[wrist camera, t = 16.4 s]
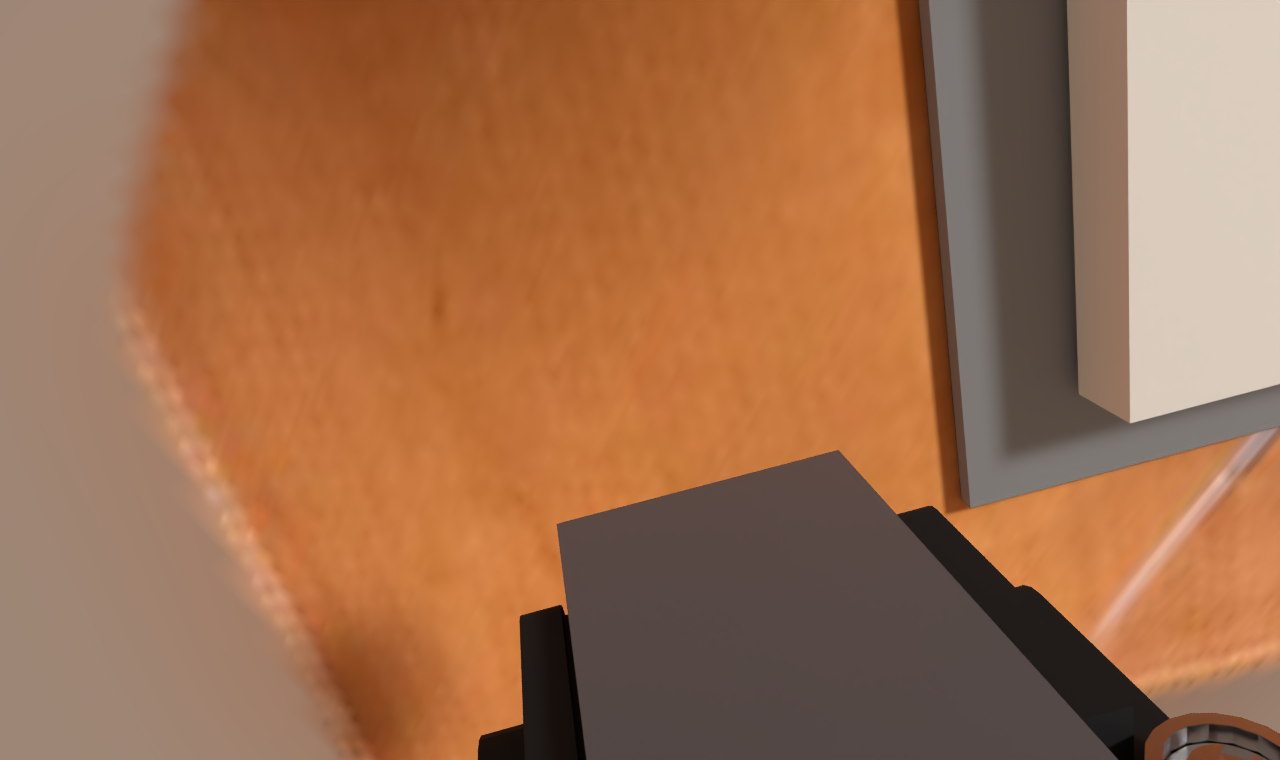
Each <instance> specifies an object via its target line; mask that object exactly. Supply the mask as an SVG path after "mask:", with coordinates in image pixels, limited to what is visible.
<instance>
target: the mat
mask: <svg viewBox="0 0 1280 760" xmlns="http://www.w3.org/2000/svg"><path fill="white" fill-rule="evenodd" d="M919 11H920V23H921V34H922V46H923V58H924V69H925V81H926V92H927V104H928V115H929V127H930V139H931V150H932V162H933V173H934V185H935V197H936V208H937V220H938V231H939V243H940V254H941V266H942V278H943V289H944V301H945V312H946V324H947V335H948V347H949V359H950V370H951V382H952V393H953V405H954V417H955V428H956V440H957V451H958V463H959V474H960V486H961V498H962V501H963V502H965V503H966V504H967V505H968V506H969V507H970V508H974V507H977V506H981V505H985V504H989V503H992V502H996V501H1000V500H1004V499H1007V498H1011V497H1015V496H1019V495H1022V494H1026V493H1030V492H1034V491H1037V490H1041V489H1045V488H1049V487H1052V486H1056V485H1060V484H1064V483H1067V482H1071V481H1075V480H1079V479H1082V478H1086V477H1090V476H1094V475H1097V474H1101V473H1105V472H1109V471H1112V470H1116V469H1120V468H1124V467H1127V466H1131V465H1135V464H1139V463H1142V462H1146V461H1150V460H1154V459H1157V458H1161V457H1165V456H1169V455H1172V454H1176V453H1180V452H1184V451H1187V450H1191V449H1195V448H1199V447H1202V446H1206V445H1210V444H1214V443H1217V442H1221V441H1225V440H1229V439H1232V438H1236V437H1240V436H1244V435H1247V434H1251V433H1255V432H1259V431H1262V430H1266V429H1270V428H1274V427H1277V426H1280V384H1278V385H1274V386H1270V387H1267V388H1263V389H1259V390H1255V391H1251V392H1248V393H1244V394H1240V395H1236V396H1232V397H1229V398H1225V399H1221V400H1217V401H1213V402H1210V403H1206V404H1202V405H1198V406H1194V407H1191V408H1187V409H1183V410H1179V411H1175V412H1172V413H1168V414H1164V415H1160V416H1156V417H1153V418H1149V419H1145V420H1141V421H1137V422H1134V423H1128V422H1127V421H1125V420H1123V419H1121V418H1120V417H1118V416H1116V415H1114V414H1113V413H1111V412H1109V411H1107V410H1106V409H1104V408H1102V407H1100V406H1099V405H1097V404H1095V403H1093V402H1092V401H1090V400H1088V399H1086V398H1085V397H1083V396H1081V395H1079V388H1078V355H1077V321H1076V288H1075V255H1074V222H1073V189H1072V155H1071V122H1070V89H1069V56H1068V22H1067V0H919Z"/></svg>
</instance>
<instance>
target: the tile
mask: <svg viewBox="0 0 1280 760" xmlns="http://www.w3.org/2000/svg"><path fill="white" fill-rule="evenodd" d="M1067 22H1068V56H1069V89H1070V122H1071V155H1072V189H1073V222H1074V255H1075V288H1076V321H1077V355H1078V388H1079V395H1081V396H1083V397H1085V398H1086V399H1088V400H1090V401H1092V402H1093V403H1095V404H1097V405H1099V406H1100V407H1102V408H1104V409H1106V410H1107V411H1109V412H1111V413H1113V414H1114V415H1116V416H1118V417H1120V418H1121V419H1123V420H1125V421H1127V422H1128V423H1134V422H1137V421H1141V420H1145V419H1149V418H1153V417H1156V416H1160V415H1164V414H1168V413H1172V412H1175V411H1179V410H1183V409H1187V408H1191V407H1194V406H1198V405H1202V404H1206V403H1210V402H1213V401H1217V400H1221V399H1225V398H1229V397H1232V396H1236V395H1240V394H1244V393H1248V392H1251V391H1255V390H1259V389H1263V388H1267V387H1270V386H1274V385H1278V384H1280V0H1067Z"/></svg>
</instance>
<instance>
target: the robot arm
mask: <svg viewBox="0 0 1280 760" xmlns="http://www.w3.org/2000/svg"><path fill="white" fill-rule="evenodd" d="M897 516H898V517H899V518H900V519H901V520H902V521H903V522H904V523H905V524H906V525H907V527H908V528H909V529H910V530H911V531H912V532H913V533H914V534H915V535H916V537H917V538H918V539H919V540H920V541H921V542H922V543H923V544H924V545H925V546H926V548H927V549H928V550H929V551H930V552H931V553H932V554H933V555H934V556H935V558H936V559H937V560H938V561H939V562H940V563H941V564H942V565H943V566H944V568H945V569H946V570H947V571H948V572H949V573H950V574H951V575H952V576H953V577H954V579H955V580H956V581H957V582H958V583H959V584H960V585H961V586H962V587H963V589H964V590H965V591H966V592H967V593H968V594H969V595H970V596H971V597H972V599H973V600H974V601H975V602H976V603H977V604H978V605H979V606H980V607H981V608H982V610H983V611H984V612H985V613H986V614H987V615H988V616H989V617H990V618H991V620H992V621H993V622H994V623H995V624H996V625H997V626H998V627H999V628H1000V629H1001V631H1002V632H1003V633H1004V634H1005V635H1006V636H1007V637H1008V638H1009V639H1010V641H1011V642H1012V643H1013V644H1014V645H1015V646H1016V647H1017V648H1018V649H1019V651H1020V652H1021V653H1022V654H1023V655H1024V656H1025V657H1026V658H1027V659H1028V660H1029V662H1030V663H1031V664H1032V665H1033V666H1034V667H1035V668H1036V669H1037V670H1038V672H1039V673H1040V674H1041V675H1042V676H1043V677H1044V678H1045V679H1046V680H1047V681H1048V683H1049V684H1050V685H1051V686H1052V687H1053V688H1054V689H1055V690H1056V691H1057V693H1058V694H1059V695H1060V696H1061V697H1062V698H1063V699H1064V700H1065V701H1066V703H1067V704H1068V705H1069V706H1070V707H1071V708H1072V709H1073V710H1074V711H1075V712H1076V714H1077V715H1078V716H1079V717H1080V718H1081V719H1082V720H1083V721H1084V722H1085V724H1086V725H1087V726H1088V727H1089V728H1090V729H1091V730H1092V731H1093V732H1094V734H1095V735H1096V736H1097V737H1098V738H1099V739H1100V740H1101V741H1102V742H1103V743H1104V745H1105V746H1106V747H1107V748H1108V749H1109V750H1110V751H1111V752H1112V753H1113V755H1114V756H1115V757H1116V758H1117V759H1118V760H1280V734H1279V733H1277V732H1275V731H1274V730H1272V729H1270V728H1269V727H1267V726H1264V725H1261V724H1258V723H1255V722H1252V721H1250V720H1247V719H1244V718H1241V717H1235V716H1229V715H1224V714H1218V713H1191V714H1186V715H1182V716H1178V717H1174V718H1171V719H1170V718H1169V717H1167V715H1165V714H1164V713H1163V712H1162V711H1161V710H1160V709H1159V708H1158V707H1157V706H1156V705H1155V704H1154V703H1153V702H1152V701H1151V700H1150V699H1149V698H1148V697H1147V696H1146V695H1145V694H1144V693H1143V692H1142V691H1141V690H1140V689H1138V688H1137V687H1136V686H1135V685H1134V684H1133V683H1132V682H1131V681H1130V680H1129V679H1128V678H1127V677H1126V676H1125V675H1124V674H1123V673H1122V672H1121V671H1120V670H1119V669H1118V668H1117V667H1116V666H1115V665H1114V664H1113V663H1111V662H1110V661H1109V660H1108V659H1107V658H1106V657H1105V656H1104V655H1103V654H1102V653H1101V652H1100V651H1099V650H1098V649H1097V648H1096V647H1095V646H1094V645H1093V644H1092V643H1091V642H1090V641H1089V640H1088V639H1087V638H1086V637H1084V636H1083V635H1082V634H1081V633H1080V632H1079V631H1078V630H1077V629H1076V628H1075V627H1074V626H1073V625H1072V624H1071V623H1070V622H1069V621H1068V620H1067V619H1066V618H1065V617H1064V616H1063V615H1062V614H1061V613H1060V612H1059V611H1057V610H1056V609H1055V608H1054V607H1053V606H1052V605H1051V604H1050V603H1049V602H1048V601H1047V600H1046V599H1045V598H1044V597H1043V596H1042V595H1041V594H1040V593H1038V592H1037V591H1036V590H1034V589H1033V588H1032V587H1029V586H1025V585H1022V586H1019V587H1014V586H1013V585H1012V584H1011V583H1010V582H1009V581H1008V580H1007V579H1006V578H1005V577H1004V576H1003V575H1002V574H1001V573H1000V572H999V571H998V570H997V569H996V568H995V567H994V566H993V565H992V564H991V563H990V562H989V561H988V560H987V559H986V558H985V557H984V556H983V555H982V554H981V553H980V552H979V551H978V550H977V549H976V548H975V547H974V546H973V545H972V544H971V543H970V542H969V541H968V540H967V539H966V538H965V537H964V536H963V535H962V534H961V533H960V532H959V531H958V530H957V529H956V528H955V527H954V526H953V525H952V524H951V523H950V522H949V521H948V520H947V519H946V518H945V517H944V516H943V515H942V514H941V513H940V512H939V511H938V510H937V509H935V508H934V507H933V506H927V507H923V508H919V509H915V510H912V511H908V512H904V513H900V514H897ZM520 643H521V670H522V697H523V724H521V725H518V726H514V727H511V728H507V729H503V730H500V731H496V732H493V733H489V734H485V735H482V736H481V738H480V740H479V747H478V760H586V752H585V744H584V736H583V728H582V720H581V712H580V704H579V696H578V688H577V681H576V673H575V665H574V657H573V649H572V641H571V633H570V625H569V617H568V615H565V613H564V610H563V607H562V606H561V605H558V606H555V607H551V608H547V609H543V610H540V611H536V612H532V613H529V614H525V615H521V616H520Z"/></svg>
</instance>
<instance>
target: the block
mask: <svg viewBox="0 0 1280 760" xmlns="http://www.w3.org/2000/svg"><path fill="white" fill-rule="evenodd" d="M557 530H558V538H559V546H560V554H561V562H562V570H563V577H564V585H565V593H566V601H567V609H568V617H569V625H570V633H571V641H572V649H573V657H574V665H575V673H576V681H577V688H578V696H579V704H580V712H581V720H582V728H583V736H584V744H585V752H586V760H1118V759H1117V758H1116V757H1115V756H1114V755H1113V753H1112V752H1111V751H1110V750H1109V749H1108V748H1107V747H1106V746H1105V745H1104V743H1103V742H1102V741H1101V740H1100V739H1099V738H1098V737H1097V736H1096V735H1095V734H1094V732H1093V731H1092V730H1091V729H1090V728H1089V727H1088V726H1087V725H1086V724H1085V722H1084V721H1083V720H1082V719H1081V718H1080V717H1079V716H1078V715H1077V714H1076V712H1075V711H1074V710H1073V709H1072V708H1071V707H1070V706H1069V705H1068V704H1067V703H1066V701H1065V700H1064V699H1063V698H1062V697H1061V696H1060V695H1059V694H1058V693H1057V691H1056V690H1055V689H1054V688H1053V687H1052V686H1051V685H1050V684H1049V683H1048V681H1047V680H1046V679H1045V678H1044V677H1043V676H1042V675H1041V674H1040V673H1039V672H1038V670H1037V669H1036V668H1035V667H1034V666H1033V665H1032V664H1031V663H1030V662H1029V660H1028V659H1027V658H1026V657H1025V656H1024V655H1023V654H1022V653H1021V652H1020V651H1019V649H1018V648H1017V647H1016V646H1015V645H1014V644H1013V643H1012V642H1011V641H1010V639H1009V638H1008V637H1007V636H1006V635H1005V634H1004V633H1003V632H1002V631H1001V629H1000V628H999V627H998V626H997V625H996V624H995V623H994V622H993V621H992V620H991V618H990V617H989V616H988V615H987V614H986V613H985V612H984V611H983V610H982V608H981V607H980V606H979V605H978V604H977V603H976V602H975V601H974V600H973V599H972V597H971V596H970V595H969V594H968V593H967V592H966V591H965V590H964V589H963V587H962V586H961V585H960V584H959V583H958V582H957V581H956V580H955V579H954V577H953V576H952V575H951V574H950V573H949V572H948V571H947V570H946V569H945V568H944V566H943V565H942V564H941V563H940V562H939V561H938V560H937V559H936V558H935V556H934V555H933V554H932V553H931V552H930V551H929V550H928V549H927V548H926V546H925V545H924V544H923V543H922V542H921V541H920V540H919V539H918V538H917V537H916V535H915V534H914V533H913V532H912V531H911V530H910V529H909V528H908V527H907V525H906V524H905V523H904V522H903V521H902V520H901V519H900V518H899V517H898V516H897V514H896V513H895V512H894V511H893V510H892V509H891V508H890V507H889V506H888V504H887V503H886V502H885V501H884V500H883V499H882V498H881V497H880V496H879V494H878V493H877V492H876V491H875V490H874V489H873V488H872V487H871V486H870V485H869V483H868V482H867V481H866V480H865V479H864V478H863V477H862V476H861V475H860V473H859V472H858V471H857V470H856V469H855V468H854V467H853V466H852V465H851V464H850V462H849V461H848V460H847V459H846V458H845V457H844V456H843V455H842V454H841V452H840V451H839V450H837V451H833V452H829V453H825V454H821V455H818V456H814V457H810V458H806V459H802V460H799V461H795V462H791V463H787V464H783V465H780V466H776V467H772V468H768V469H764V470H761V471H757V472H753V473H749V474H745V475H741V476H738V477H734V478H730V479H726V480H722V481H719V482H715V483H711V484H707V485H703V486H700V487H696V488H692V489H688V490H684V491H680V492H677V493H673V494H669V495H665V496H661V497H658V498H654V499H650V500H646V501H642V502H639V503H635V504H631V505H627V506H623V507H620V508H616V509H612V510H608V511H604V512H600V513H597V514H593V515H589V516H585V517H581V518H578V519H574V520H570V521H566V522H562V523H559V524H557Z"/></svg>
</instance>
